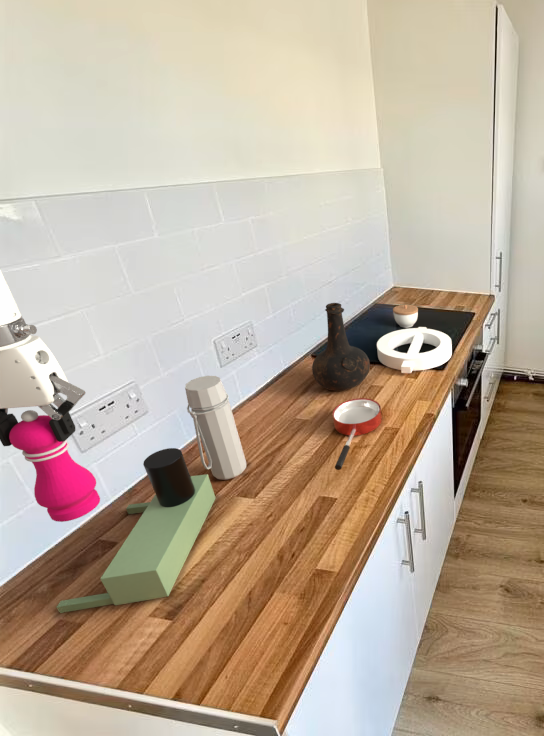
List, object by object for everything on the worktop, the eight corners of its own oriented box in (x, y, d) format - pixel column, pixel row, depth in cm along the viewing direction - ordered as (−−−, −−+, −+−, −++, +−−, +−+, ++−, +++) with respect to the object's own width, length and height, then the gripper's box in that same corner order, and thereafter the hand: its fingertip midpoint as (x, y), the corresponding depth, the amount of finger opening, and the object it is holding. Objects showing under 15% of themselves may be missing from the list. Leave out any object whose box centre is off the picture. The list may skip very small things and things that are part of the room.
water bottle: (229, 458, 109) (203, 372, 98) (255, 465, 107) (232, 378, 96) (197, 483, 101) (165, 392, 90) (224, 490, 99) (195, 398, 88)
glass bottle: (326, 404, 133) (313, 320, 121) (307, 380, 145) (292, 301, 133) (380, 386, 144) (373, 307, 132) (358, 366, 156) (349, 292, 143)
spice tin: (153, 509, 85) (136, 470, 80) (167, 487, 90) (152, 449, 86) (188, 505, 86) (173, 466, 82) (200, 484, 91) (186, 446, 87)
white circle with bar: (405, 378, 149) (404, 366, 147) (363, 351, 166) (362, 340, 164) (466, 355, 168) (466, 344, 166) (423, 333, 185) (423, 322, 183)
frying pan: (380, 480, 105) (378, 460, 102) (322, 488, 102) (319, 467, 99) (382, 408, 132) (380, 390, 130) (337, 412, 129) (334, 394, 126)
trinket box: (405, 318, 199) (404, 299, 194) (423, 324, 194) (422, 304, 190) (388, 325, 190) (387, 305, 186) (407, 331, 186) (406, 311, 181)
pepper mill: (35, 518, 72) (-22, 419, 63) (83, 489, 78) (37, 395, 70) (68, 529, 71) (15, 429, 62) (115, 497, 77) (72, 403, 68)
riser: (58, 615, 73) (40, 588, 69) (132, 508, 93) (121, 484, 90) (168, 596, 76) (156, 570, 73) (215, 498, 97) (207, 474, 94)
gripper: (80, 322, 66) (119, 420, 73) (-68, 326, 61) (-9, 429, 69) (46, 342, 59) (93, 447, 67) (-122, 348, 55) (-51, 460, 63)
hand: (40, 437), depth 68 cm, fingers closed on pepper mill, 6 cm apart
